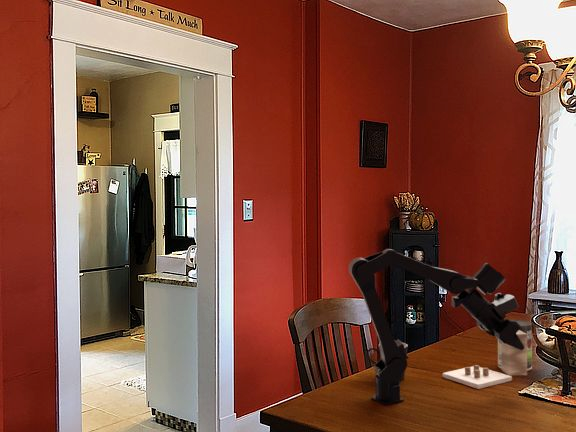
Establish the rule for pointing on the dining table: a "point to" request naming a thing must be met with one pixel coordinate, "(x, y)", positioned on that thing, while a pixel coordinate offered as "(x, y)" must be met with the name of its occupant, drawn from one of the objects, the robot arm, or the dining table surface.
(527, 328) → the coffee can
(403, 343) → the coffee mug
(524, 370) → the birch block
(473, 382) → the peg stand
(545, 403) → the dining table surface
